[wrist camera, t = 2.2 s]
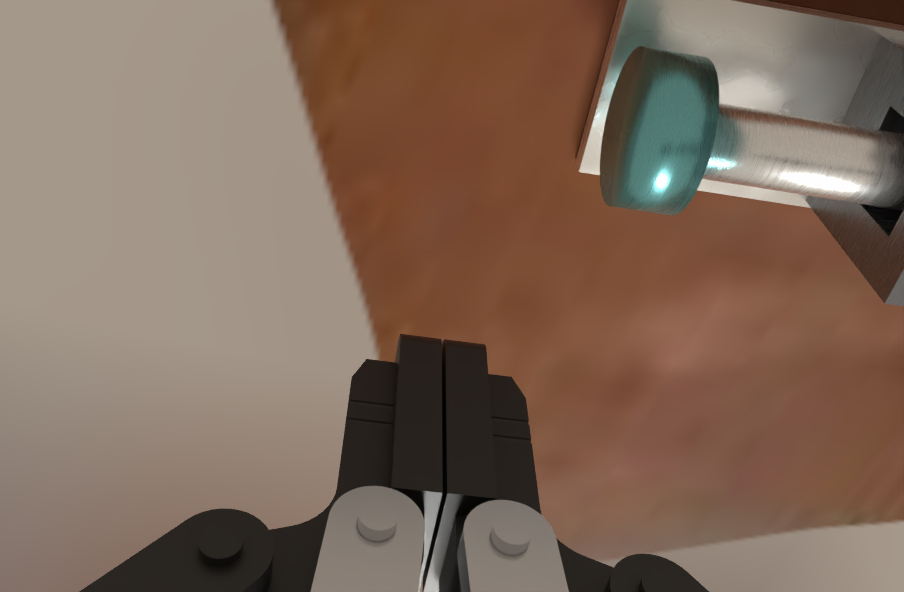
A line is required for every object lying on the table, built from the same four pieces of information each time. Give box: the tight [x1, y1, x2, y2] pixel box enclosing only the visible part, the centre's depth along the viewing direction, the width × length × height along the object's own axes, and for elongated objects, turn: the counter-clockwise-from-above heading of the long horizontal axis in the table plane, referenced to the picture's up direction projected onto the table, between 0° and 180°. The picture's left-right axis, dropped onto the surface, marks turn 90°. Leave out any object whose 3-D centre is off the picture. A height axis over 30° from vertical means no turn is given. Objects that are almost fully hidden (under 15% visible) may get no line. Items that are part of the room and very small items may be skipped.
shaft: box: [600, 46, 904, 215], centre depth 27 cm, size 14×5×5 cm, turn 80°
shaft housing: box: [575, 0, 904, 306], centre depth 28 cm, size 17×7×8 cm, turn 80°
